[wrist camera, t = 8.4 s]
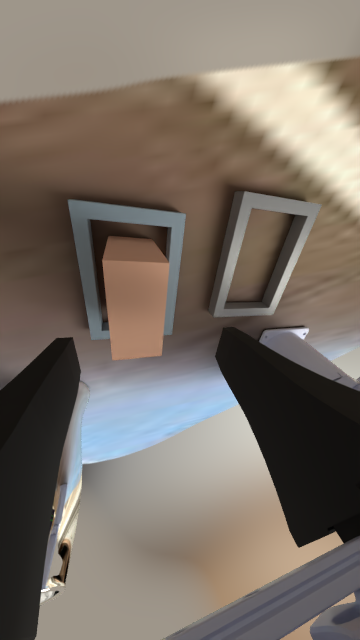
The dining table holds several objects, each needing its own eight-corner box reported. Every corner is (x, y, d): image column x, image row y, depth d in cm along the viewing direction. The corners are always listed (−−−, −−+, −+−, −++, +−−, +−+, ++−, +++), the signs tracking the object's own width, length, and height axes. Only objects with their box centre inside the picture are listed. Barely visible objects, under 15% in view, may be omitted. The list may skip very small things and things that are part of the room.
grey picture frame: (168, 326, 22) (171, 334, 20) (93, 330, 19) (91, 340, 18) (180, 212, 15) (185, 214, 14) (72, 199, 13) (67, 199, 12)
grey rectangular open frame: (265, 308, 24) (273, 314, 23) (208, 310, 22) (213, 317, 21) (308, 204, 18) (321, 204, 17) (235, 191, 16) (244, 191, 14)
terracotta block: (149, 309, 20) (161, 355, 14) (114, 310, 19) (112, 360, 13) (152, 238, 16) (169, 263, 10) (108, 235, 15) (102, 260, 9)
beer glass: (106, 388, 24) (92, 578, 12) (70, 417, 25) (25, 616, 13) (54, 365, 20) (-41, 612, 8) (14, 400, 21) (-120, 662, 9)
